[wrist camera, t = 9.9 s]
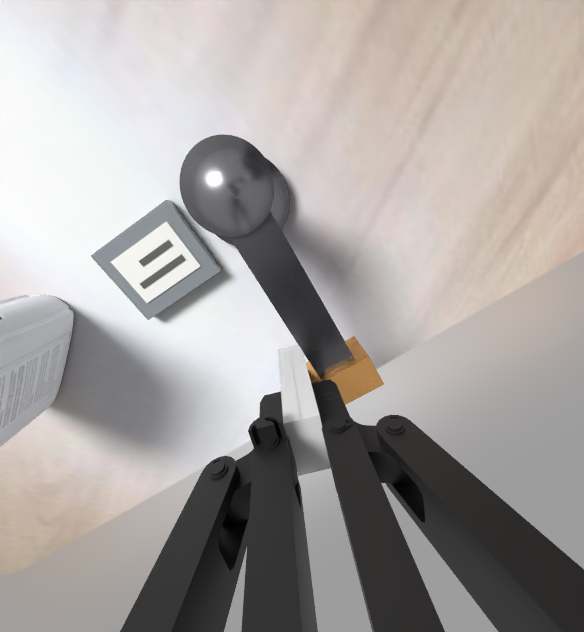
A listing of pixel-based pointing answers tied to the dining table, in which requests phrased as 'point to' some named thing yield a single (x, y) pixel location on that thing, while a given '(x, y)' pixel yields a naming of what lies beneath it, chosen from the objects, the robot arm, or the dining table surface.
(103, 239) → the dining table surface
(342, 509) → the robot arm
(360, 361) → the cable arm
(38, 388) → the photo printer
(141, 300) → the label tile
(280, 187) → the round-base stand
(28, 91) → the dining table surface
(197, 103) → the dining table surface
